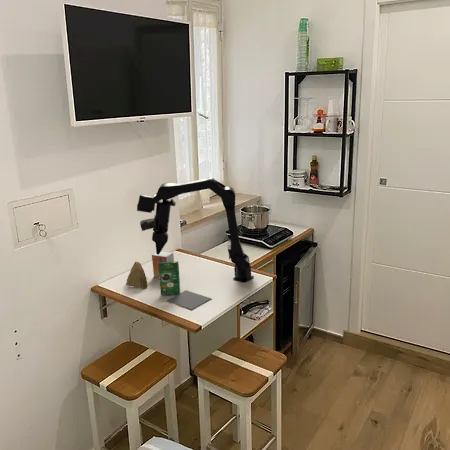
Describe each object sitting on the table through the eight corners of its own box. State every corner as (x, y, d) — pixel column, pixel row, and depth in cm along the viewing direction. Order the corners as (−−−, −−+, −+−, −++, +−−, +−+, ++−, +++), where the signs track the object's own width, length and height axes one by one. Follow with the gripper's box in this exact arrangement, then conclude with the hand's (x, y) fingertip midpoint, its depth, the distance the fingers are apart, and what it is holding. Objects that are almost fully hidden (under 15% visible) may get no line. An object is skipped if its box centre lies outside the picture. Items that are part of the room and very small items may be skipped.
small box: (153, 277, 212) (151, 254, 209) (161, 272, 217) (158, 250, 214) (168, 279, 208) (166, 256, 205) (175, 274, 213) (173, 252, 210)
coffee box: (181, 292, 194) (178, 260, 192) (180, 294, 191) (177, 261, 190) (162, 293, 195) (158, 261, 193) (160, 295, 192) (157, 263, 190)
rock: (154, 282, 200) (150, 271, 209) (140, 270, 196) (136, 259, 205) (135, 299, 201) (131, 288, 209) (120, 288, 196) (118, 276, 205)
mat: (211, 299, 186) (211, 298, 186) (191, 310, 178) (191, 309, 178) (186, 291, 195) (186, 290, 195) (166, 301, 187) (166, 300, 187)
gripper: (143, 206, 203) (139, 240, 207) (141, 218, 185) (137, 256, 189) (170, 209, 204) (165, 243, 209) (170, 222, 186) (165, 259, 191)
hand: (158, 250), depth 199 cm, fingers open, 9 cm apart
